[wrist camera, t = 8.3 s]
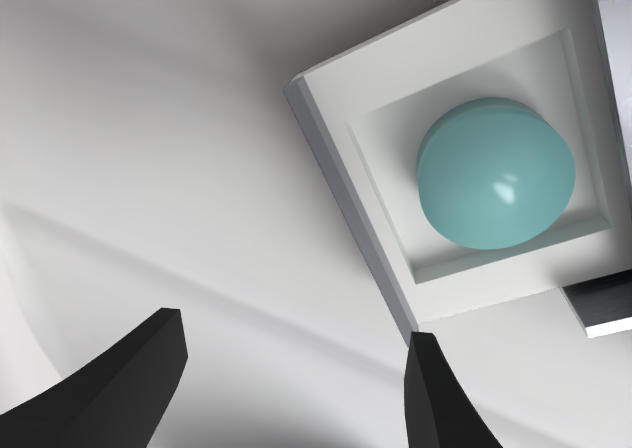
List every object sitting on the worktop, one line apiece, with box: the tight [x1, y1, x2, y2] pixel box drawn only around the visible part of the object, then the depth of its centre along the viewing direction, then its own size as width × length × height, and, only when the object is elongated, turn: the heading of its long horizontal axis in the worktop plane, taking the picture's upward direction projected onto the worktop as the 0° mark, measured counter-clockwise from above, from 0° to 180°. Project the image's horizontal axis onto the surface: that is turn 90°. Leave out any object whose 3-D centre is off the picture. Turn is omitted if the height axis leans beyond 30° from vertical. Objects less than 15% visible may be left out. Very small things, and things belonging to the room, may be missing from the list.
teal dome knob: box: [416, 97, 576, 250], centre depth 18 cm, size 6×6×2 cm
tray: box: [283, 0, 632, 347], centre depth 18 cm, size 13×11×3 cm
